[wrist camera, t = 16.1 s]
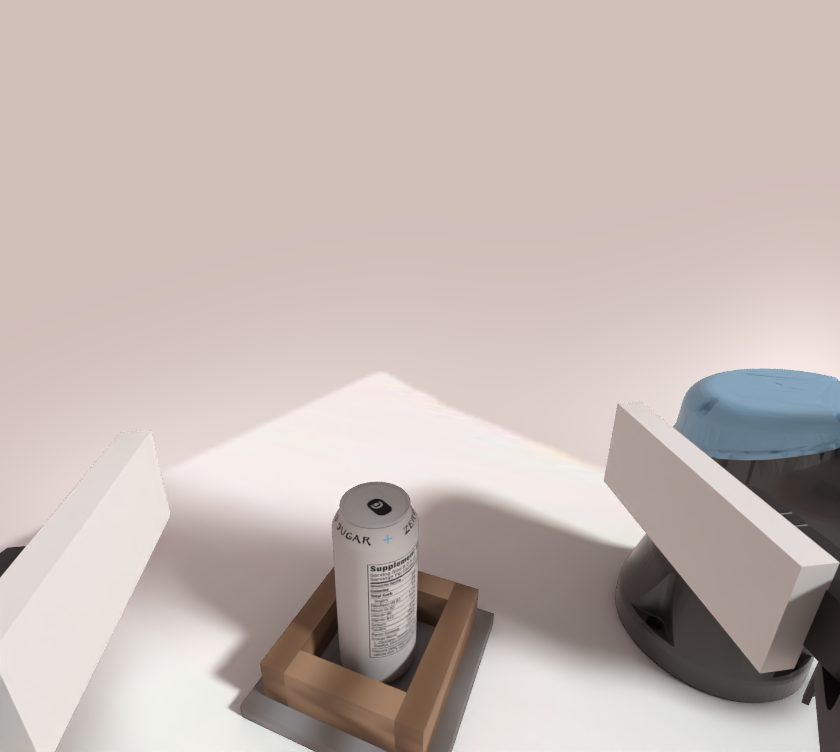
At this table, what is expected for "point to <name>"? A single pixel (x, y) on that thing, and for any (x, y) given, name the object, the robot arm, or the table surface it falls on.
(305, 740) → the brown wooden open box
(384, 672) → the energy drink can
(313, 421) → the table surface
